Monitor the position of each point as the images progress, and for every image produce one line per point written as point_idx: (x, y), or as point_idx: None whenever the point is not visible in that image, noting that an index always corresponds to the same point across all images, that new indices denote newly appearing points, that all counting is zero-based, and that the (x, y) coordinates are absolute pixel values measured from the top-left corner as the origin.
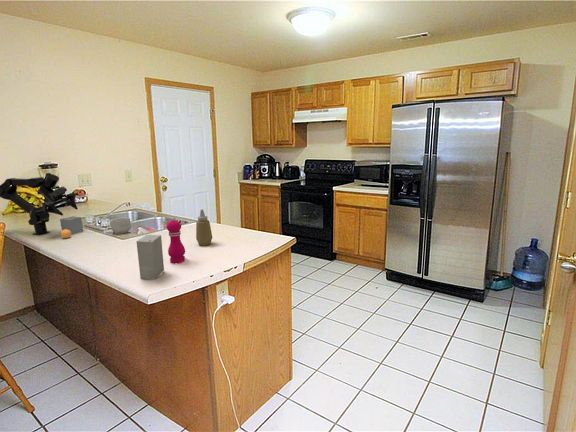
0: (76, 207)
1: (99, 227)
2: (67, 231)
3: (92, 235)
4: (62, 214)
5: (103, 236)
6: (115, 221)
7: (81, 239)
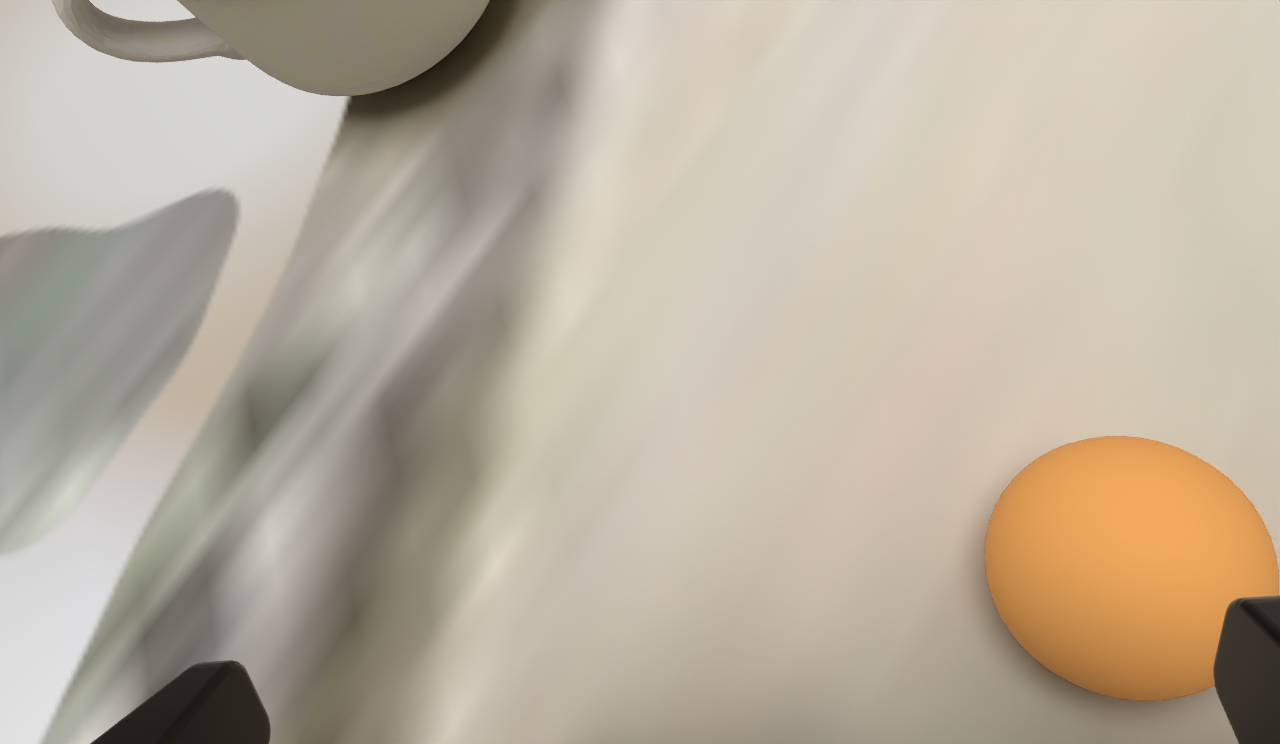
0: (186, 705)
1: None
2: (1126, 445)
3: (701, 247)
4: (1276, 604)
5: (671, 19)
6: (254, 9)
7: (981, 159)
